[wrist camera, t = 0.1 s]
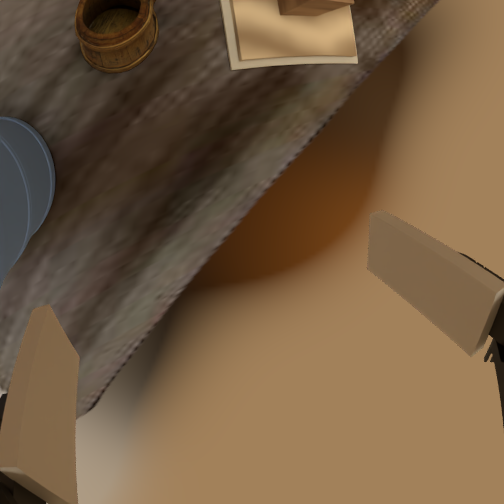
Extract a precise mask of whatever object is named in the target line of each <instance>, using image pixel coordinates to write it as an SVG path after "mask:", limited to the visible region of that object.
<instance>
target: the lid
mask: <svg viewBox="0 0 504 504" xmlns="http://www.w3.org/2000/svg"><path fill="white" fill-rule="evenodd" d="M229 2H230V8H231V14H232V20H233V27H234V33H235V39H236V46H237V52H238V59H239V61H245V60H255V59H267V58H281V57H305V56H346V57H353V56H357V54H356V46H355V39H354V32H353V25H352V19H351V13H350V7H349V5H352V4H354V0H229Z"/></svg>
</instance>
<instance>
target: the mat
mask: <svg viewBox="0 0 504 504" xmlns="http://www.w3.org/2000/svg"><path fill="white" fill-rule="evenodd" d="M219 1H220V7H221V13H222V20H223V26H224V32H225V39H226V45H227V52H228V58H229V64H230V71H231V70H238V69H247V68H256V67H267V66H280V65H296V64H331V63H340V64H358V59H357V56H353V57H346V56H305V57H281V58H267V59H255V60H245V61H239V59H238V52H237V46H236V39H235V33H234V27H233V20H232V14H231V8H230V2H229V0H219ZM349 7H350V5H349ZM350 13H351V11H350ZM351 19H352V17H351ZM352 25H353V23H352ZM353 32H354V30H353ZM354 39H355V36H354ZM355 46H356V44H355ZM356 54H357V51H356Z"/></svg>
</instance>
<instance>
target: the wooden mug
mask: <svg viewBox="0 0 504 504" xmlns="http://www.w3.org/2000/svg"><path fill="white" fill-rule="evenodd" d="M155 1H156V0H80V2H79V5H78V8H77V11H76V15H75V32H76V36H77V37H78V39H79V40H80V47H81V51H82V54H83V56H84V58H85V60H86V61H87V62H88V63H89V64H90V65H91V66H92V67H94V68H95V69H97V70H99V71H102V72H106V73H121V72H125V71H129V70H131V69H132V68H134V67H136V66H138V65H139V64H140V63H141V62H142V61H143V60H144V59H146V58H147V56H148V55H149V54H150V53H151V52H152V50H153V48H154V46H155V44H156V42H157V38H158V34H159V28H158V21H157V17H156V14H155V12H154V9H153V5H154V3H155Z"/></svg>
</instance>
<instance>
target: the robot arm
mask: <svg viewBox="0 0 504 504" xmlns="http://www.w3.org/2000/svg"><path fill="white" fill-rule="evenodd" d="M367 269H368V270H369V271H371V272H372V273H373V274H374V275H375V276H377V277H378V278H379V279H381V280H382V281H383V282H384V283H385V284H387V285H388V286H389V287H390V288H391V289H393V290H394V291H395V292H397V293H398V294H399V295H400V296H401V297H402V298H404V299H405V300H406V301H407V302H409V303H410V304H411V305H412V306H413V307H414V308H416V309H417V310H418V311H419V312H420V313H422V314H423V315H424V316H425V317H426V318H427V319H429V320H430V321H431V322H432V323H433V324H434V325H435V326H437V327H438V328H439V329H440V330H441V331H442V332H444V333H445V334H446V335H447V336H448V337H449V338H450V339H451V340H453V341H454V342H455V343H456V344H457V345H458V346H459V347H460V348H462V349H463V350H464V351H465V352H466V353H467V354H468V355H469V356H470V357H472V356H473V355H474V354H476V353H477V352H478V351H479V350H480V349H482V348H483V346H484V344H485V342H486V340H487V337H488V335H490V336H491V337H492V338H493V340H492V342H491V345H490V347H489V349H488V351H487V353H486V355H485V357H484V362H487V360H488V358H489V356H490V354H491V353H492V354H493V356H492V358H491V361H490V362H494V363H495V369H496V374H497V380H498V385H499V392H500V400H501V407H502V416H503V426H504V279H502V278H501V277H499V276H498V275H496V274H495V273H493V272H492V271H490V270H489V269H487V268H486V267H485V268H484V267H483V265H481V264H479V263H476V262H475V260H473V259H472V258H470V257H468V256H467V255H464V254H462V253H459V252H456V251H455V250H453V249H451V248H450V247H448V246H447V245H445V244H443V243H442V242H440V241H438V240H436V239H435V238H433V237H431V236H429V235H428V234H426V233H424V232H422V231H421V230H419V229H417V228H416V227H414V226H412V225H410V224H408V223H407V222H405V221H403V220H401V219H399V218H397V217H396V216H394V215H392V214H390V213H388V212H386V211H384V210H381V211H377V212H374V213H370V225H369V247H368V263H367ZM79 359H80V357H79V356H78V354H77V352H76V351H75V349H74V348H73V346H72V344H71V343H70V341H69V339H68V337H67V336H66V334H65V332H64V331H63V329H62V327H61V325H60V323H59V322H58V320H57V318H56V316H55V314H54V312H53V311H52V309H51V307H50V305H45V306H42V307H38V308H35V309H33V311H32V313H31V316H30V319H29V322H28V325H27V328H26V331H25V334H24V337H23V340H22V343H21V346H20V350H19V353H18V356H17V360H16V363H15V367H14V371H13V374H12V378H11V382H10V386H9V390H8V393H7V394H2V396H1V398H0V504H46V502H47V503H48V504H78V496H77V483H76V457H75V424H76V398H77V382H78V370H79Z"/></svg>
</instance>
